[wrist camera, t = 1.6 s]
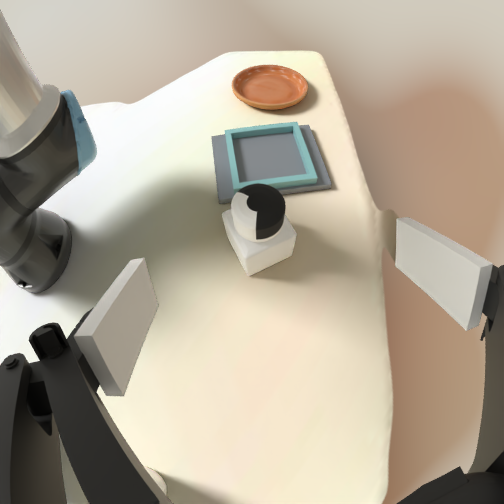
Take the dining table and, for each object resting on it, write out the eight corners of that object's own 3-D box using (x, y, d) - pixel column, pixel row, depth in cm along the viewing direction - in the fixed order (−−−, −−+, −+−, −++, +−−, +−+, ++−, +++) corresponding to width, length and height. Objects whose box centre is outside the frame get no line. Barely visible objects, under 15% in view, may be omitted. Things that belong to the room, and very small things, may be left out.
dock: (219, 203, 46) (217, 194, 43) (212, 140, 51) (210, 130, 49) (330, 188, 46) (333, 178, 44) (308, 129, 52) (309, 119, 49)
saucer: (310, 79, 59) (311, 69, 56) (302, 121, 53) (303, 110, 50) (243, 71, 61) (242, 61, 58) (223, 110, 55) (221, 99, 52)
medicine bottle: (269, 216, 45) (271, 167, 34) (292, 255, 42) (303, 214, 31) (226, 236, 44) (215, 190, 33) (247, 277, 41) (242, 242, 30)
